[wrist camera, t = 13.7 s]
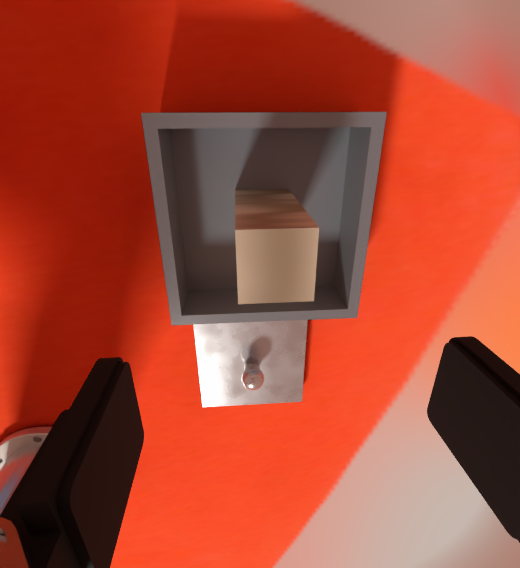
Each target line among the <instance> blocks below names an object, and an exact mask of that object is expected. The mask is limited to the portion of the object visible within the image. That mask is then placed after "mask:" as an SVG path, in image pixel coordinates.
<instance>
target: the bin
mask: <svg viewBox="0 0 520 568" xmlns="http://www.w3.org/2000/svg"><path fill="white" fill-rule="evenodd" d="M386 115H387V112H230V113H141V116H142V123H143V130H144V137H145V144H146V151H147V158H148V165H149V172H150V178H151V185H152V192H153V199H154V206H155V213H156V220H157V227H158V234H159V241H160V248H161V255H162V262H163V268H164V275H165V282H166V289H167V296H168V303H169V310H170V317H171V324H172V325H193V324H217V323H241V322H266V321H290V320H314V319H338V318H357V315H358V308H359V301H360V294H361V287H362V280H363V274H364V267H365V260H366V253H367V246H368V239H369V232H370V225H371V218H372V211H373V205H374V198H375V191H376V184H377V177H378V170H379V163H380V156H381V149H382V142H383V136H384V129H385V122H386ZM262 189H289V190H290V191H291V193H292V194H293V195H294V196H295V198H296V199H297V200H298V201H299V203H300V204H301V205H302V206H303V208H304V209H305V210H306V212H307V213H308V214H309V215H310V217H311V218H312V219H313V220H314V222H315V223H316V224H317V225H318V227H319V238H318V251H317V265H316V279H315V293H314V301H305V302H280V303H256V304H238V288H237V264H236V241H235V190H262Z"/></svg>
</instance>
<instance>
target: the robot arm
mask: <svg viewBox="0 0 520 568" xmlns="http://www.w3.org/2000/svg"><path fill="white" fill-rule="evenodd" d="M427 414H428V418H429V420H430V422H431V423H432V425H433V426H434V428H435V429H436V431H437V432H438V433H439V435H440V436H441V438H442V439H443V441H444V442H445V443H446V445H447V446H448V448H449V449H450V450H451V452H452V453H453V455H454V456H455V458H456V459H457V461H458V462H459V463H460V465H461V466H462V468H463V469H464V471H465V472H466V473H467V475H468V476H469V478H470V479H471V480H472V482H473V483H474V485H475V486H476V488H477V489H478V491H479V492H480V493H481V495H482V496H483V498H484V499H485V501H486V502H487V504H488V505H489V506H490V508H491V509H492V510H493V512H494V513H495V515H496V516H497V518H498V519H499V521H500V522H501V524H502V525H503V526H504V528H505V529H506V531H507V532H508V533H509V534H510V535H511V536H512V537H513V538H515V539H518V541H519V542H520V374H518V373H517V372H516V371H515V370H514V369H513V368H511V367H510V366H509V365H508V364H506V363H505V362H504V361H503V360H502V359H500V358H499V357H498V356H497V355H496V354H494V353H493V352H492V351H491V350H490V349H488V348H487V347H486V346H485V345H484V344H482V343H481V342H480V341H479V340H478V339H476V338H475V337H455V338H452V339H450V341H449V343H446V344H445V346H444V349H443V353H442V357H441V360H440V364H439V368H438V371H437V375H436V379H435V382H434V386H433V390H432V394H431V397H430V401H429V405H428V408H427ZM143 440H144V431H143V426H142V421H141V416H140V411H139V407H138V402H137V397H136V392H135V388H134V383H133V378H132V373H131V369H130V365H129V363H128V362H123V360H122V358H120V357H117V358H100V359H98V360H97V361H96V363H95V365H94V367H93V368H92V370H91V372H90V374H89V375H88V377H87V379H86V381H85V382H84V384H83V386H82V388H81V389H80V391H79V393H78V395H77V397H76V398H75V400H74V402H73V404H72V405H71V407H70V409H69V410H65V411H63V412H62V413H61V414H60V415H59V417H58V418H57V420H56V421H55V423H54V425H53V426H52V427H33V428H27V429H23V430H20V431H17V432H15V433H13V434H11V435H9V436H7V437H6V438H5V439H4V440H3V441H1V442H0V568H110V565H111V561H112V557H113V554H114V550H115V546H116V543H117V539H118V535H119V531H120V528H121V524H122V520H123V516H124V513H125V509H126V505H127V502H128V498H129V494H130V490H131V487H132V483H133V479H134V476H135V472H136V468H137V464H138V461H139V457H140V453H141V450H142V446H143Z"/></svg>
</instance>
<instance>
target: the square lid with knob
mask: <svg viewBox="0 0 520 568" xmlns="http://www.w3.org/2000/svg"><path fill="white" fill-rule="evenodd" d="M307 322H308V320H290V321H266V322H241V323H217V324H193V325H194V334H195V343H196V353H197V362H198V371H199V380H200V389H201V398H202V407H215V406H233V405H251V404H269V403H287V402H302V395H303V380H304V366H305V351H306V336H307Z"/></svg>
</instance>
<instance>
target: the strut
mask: <svg viewBox="0 0 520 568" xmlns="http://www.w3.org/2000/svg"><path fill="white" fill-rule="evenodd" d="M318 238H319V227H318V225H317V224H316V223H315V222H314V220H313V219H312V218H311V217H310V215H309V214H308V213H307V212H306V210H305V209H304V208H303V206H302V205H301V204H300V203H299V201H298V200H297V199H296V198H295V196H294V195H293V194H292V193H291V191H290V190H289V189H262V190H235V241H236V264H237V288H238V304H256V303H280V302H305V301H314V293H315V279H316V265H317V251H318Z"/></svg>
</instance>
